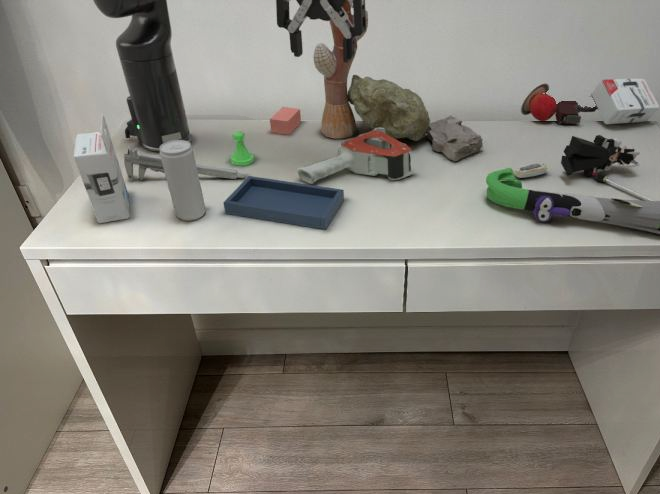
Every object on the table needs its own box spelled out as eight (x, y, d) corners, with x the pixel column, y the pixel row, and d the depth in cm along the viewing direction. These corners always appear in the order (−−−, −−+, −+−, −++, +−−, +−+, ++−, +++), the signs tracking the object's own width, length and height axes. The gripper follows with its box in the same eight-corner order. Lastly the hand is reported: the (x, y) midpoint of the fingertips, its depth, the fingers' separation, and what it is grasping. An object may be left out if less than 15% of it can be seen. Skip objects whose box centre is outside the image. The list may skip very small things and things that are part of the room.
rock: (404, 66, 121) (339, 83, 120) (423, 52, 103) (346, 71, 102) (420, 137, 126) (356, 153, 124) (441, 135, 107) (367, 154, 106)
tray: (225, 213, 91) (223, 202, 90) (250, 186, 98) (248, 175, 97) (325, 229, 88) (325, 218, 87) (344, 200, 95) (343, 189, 94)
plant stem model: (317, 138, 114) (307, -26, 95) (319, 124, 119) (309, -34, 100) (368, 138, 114) (368, -26, 95) (367, 124, 120) (367, -33, 101)
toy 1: (669, 243, 87) (479, 217, 92) (660, 206, 95) (486, 185, 100) (683, 210, 83) (483, 185, 88) (672, 175, 91) (490, 154, 96)
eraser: (271, 132, 116) (269, 119, 114) (284, 120, 121) (282, 106, 120) (288, 135, 115) (287, 121, 114) (301, 122, 121) (300, 108, 119)
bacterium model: (504, 179, 98) (488, 169, 102) (503, 188, 99) (487, 178, 103) (557, 167, 102) (540, 158, 105) (556, 176, 103) (539, 167, 106)
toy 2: (627, 177, 85) (704, 175, 89) (562, 129, 100) (631, 129, 104) (610, 220, 90) (684, 216, 94) (550, 168, 105) (617, 167, 109)
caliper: (129, 181, 99) (119, 148, 95) (130, 178, 100) (121, 145, 96) (244, 179, 100) (238, 147, 96) (244, 176, 101) (239, 144, 97)
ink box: (603, 78, 119) (645, 77, 123) (589, 94, 123) (630, 92, 127) (619, 109, 116) (661, 108, 120) (604, 125, 120) (646, 122, 124)
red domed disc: (550, 91, 126) (570, 108, 123) (524, 118, 128) (543, 135, 125) (542, 75, 119) (563, 93, 116) (515, 104, 121) (535, 122, 118)
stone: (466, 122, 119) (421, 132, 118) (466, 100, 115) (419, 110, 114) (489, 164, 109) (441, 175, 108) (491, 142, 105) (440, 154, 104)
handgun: (664, 129, 123) (639, 103, 134) (669, 117, 121) (643, 91, 132) (557, 126, 121) (540, 99, 133) (560, 113, 120) (543, 87, 131)
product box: (98, 198, 94) (68, 115, 85) (129, 194, 96) (103, 111, 86) (97, 224, 88) (65, 137, 79) (130, 219, 89) (102, 132, 80)
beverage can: (179, 207, 93) (162, 139, 85) (208, 206, 93) (194, 139, 85) (173, 222, 89) (155, 153, 81) (203, 221, 89) (188, 152, 82)
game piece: (258, 158, 107) (254, 129, 103) (244, 167, 104) (239, 137, 100) (241, 153, 108) (236, 124, 104) (226, 162, 105) (221, 132, 102)
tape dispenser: (296, 192, 100) (405, 198, 96) (291, 166, 96) (404, 171, 93) (323, 146, 113) (420, 150, 109) (320, 122, 109) (419, 125, 106)
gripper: (262, -56, 79) (273, 60, 90) (357, -49, 77) (357, 70, 87) (282, -63, 85) (291, 47, 95) (371, -56, 82) (370, 56, 93)
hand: (322, 58), depth 91 cm, fingers open, 8 cm apart
